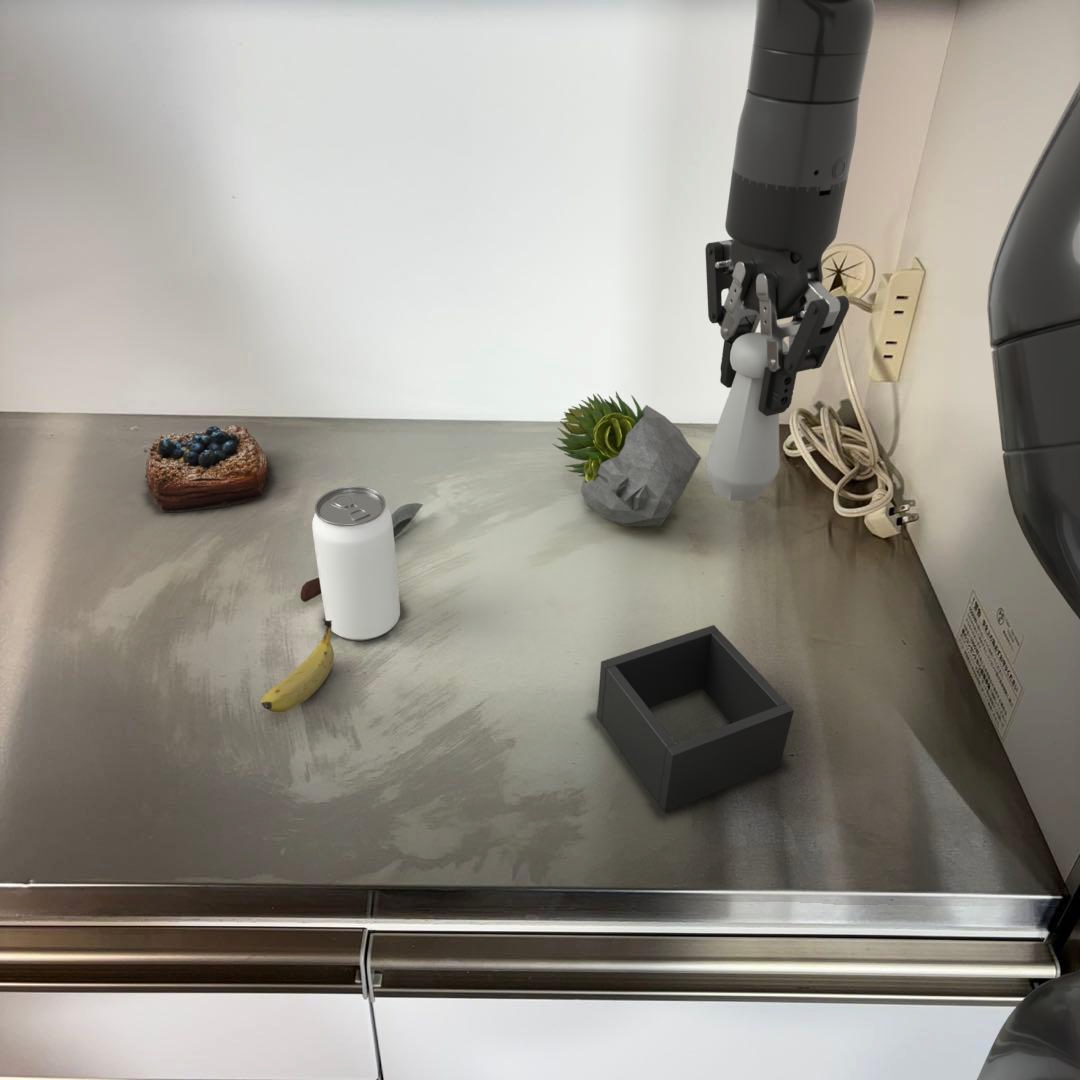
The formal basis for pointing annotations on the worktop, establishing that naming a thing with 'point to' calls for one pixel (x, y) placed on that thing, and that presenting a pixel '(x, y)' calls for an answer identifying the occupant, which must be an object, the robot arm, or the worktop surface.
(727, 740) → the holder
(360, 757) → the worktop surface
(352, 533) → the can
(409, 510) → the knife
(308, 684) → the banana
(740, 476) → the salt shaker
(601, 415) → the potted plant
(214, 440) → the pastry
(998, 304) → the robot arm
